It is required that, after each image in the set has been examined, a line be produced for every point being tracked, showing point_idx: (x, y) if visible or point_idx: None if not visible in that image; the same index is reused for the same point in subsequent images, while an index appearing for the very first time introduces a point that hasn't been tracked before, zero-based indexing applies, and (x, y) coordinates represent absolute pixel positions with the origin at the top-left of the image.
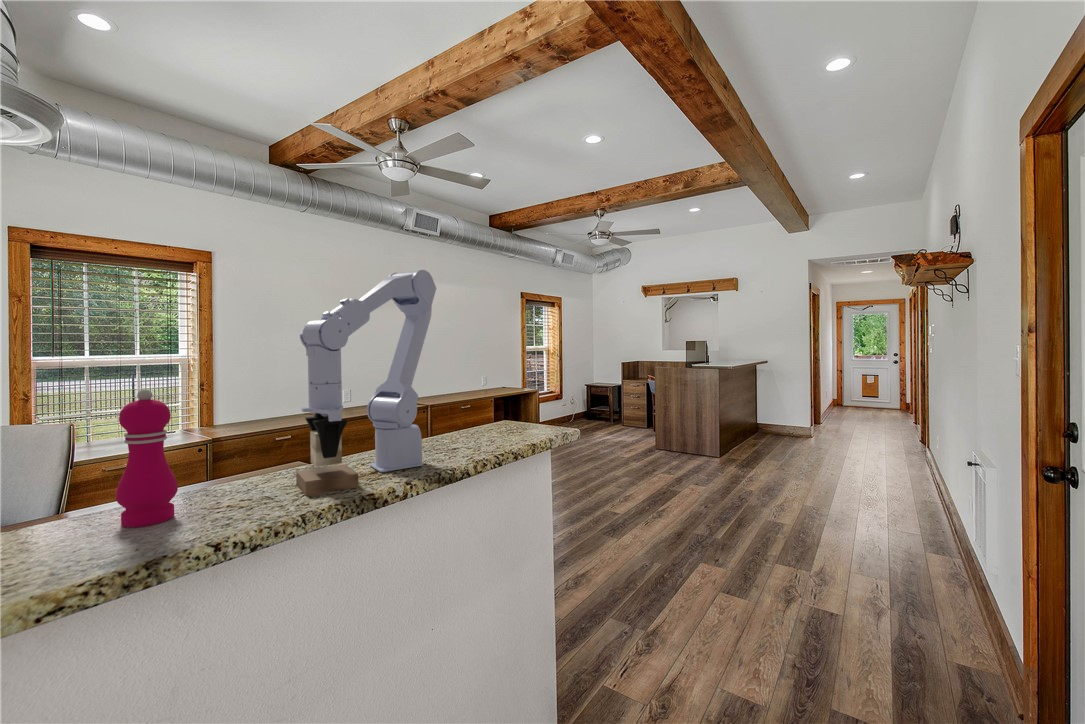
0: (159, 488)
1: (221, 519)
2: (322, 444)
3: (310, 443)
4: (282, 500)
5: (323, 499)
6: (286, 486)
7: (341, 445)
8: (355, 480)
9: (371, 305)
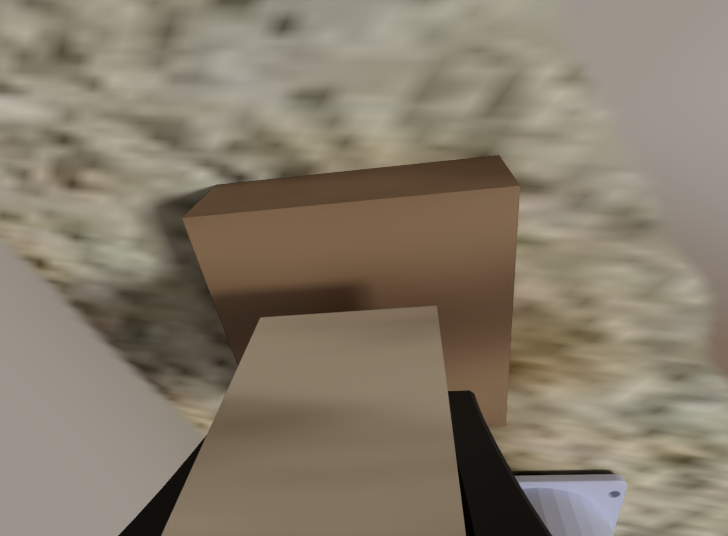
0: None
1: None
2: (158, 496)
3: (447, 430)
4: (175, 62)
5: (134, 249)
6: (497, 95)
7: None
8: None
9: None
